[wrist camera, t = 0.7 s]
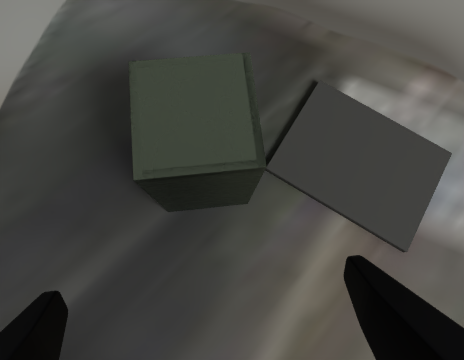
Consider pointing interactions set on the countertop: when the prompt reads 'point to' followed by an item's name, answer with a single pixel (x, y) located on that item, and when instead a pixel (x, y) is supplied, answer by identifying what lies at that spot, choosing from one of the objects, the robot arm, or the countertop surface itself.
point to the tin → (196, 130)
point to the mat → (360, 165)
